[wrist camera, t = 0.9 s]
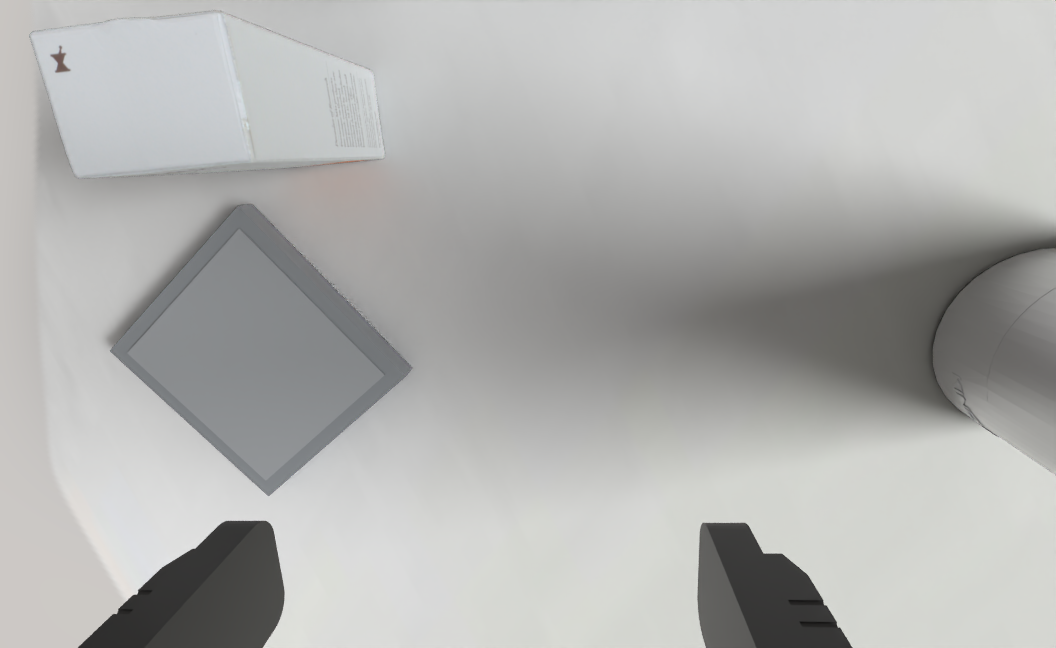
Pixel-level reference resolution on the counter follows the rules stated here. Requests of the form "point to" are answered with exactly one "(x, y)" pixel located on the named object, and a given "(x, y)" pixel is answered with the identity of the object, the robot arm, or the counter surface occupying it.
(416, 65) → the counter surface
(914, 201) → the counter surface
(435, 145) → the counter surface
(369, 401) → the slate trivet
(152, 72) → the skincare box
